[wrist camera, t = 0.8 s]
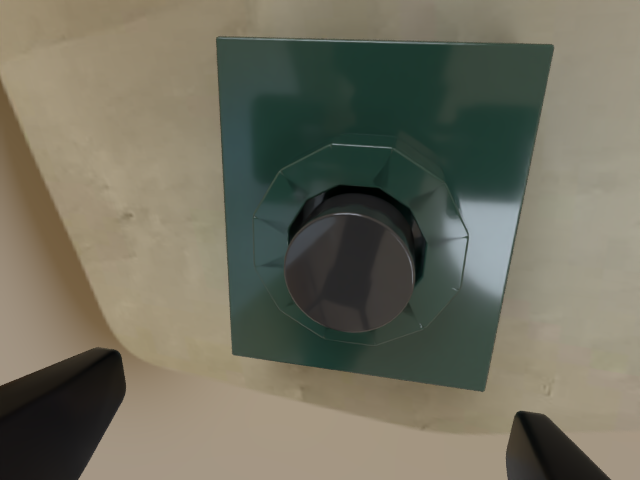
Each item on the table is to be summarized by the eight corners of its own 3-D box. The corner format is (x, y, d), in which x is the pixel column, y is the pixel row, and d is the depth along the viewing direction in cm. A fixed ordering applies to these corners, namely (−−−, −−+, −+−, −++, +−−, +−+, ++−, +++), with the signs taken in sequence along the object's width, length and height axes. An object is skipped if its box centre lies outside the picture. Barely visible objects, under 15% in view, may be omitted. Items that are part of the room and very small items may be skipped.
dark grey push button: (408, 305, 15) (408, 341, 13) (299, 292, 15) (282, 325, 13) (421, 196, 13) (422, 219, 11) (300, 187, 14) (282, 206, 12)
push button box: (472, 334, 21) (493, 432, 15) (261, 307, 22) (211, 387, 17) (524, 47, 16) (579, 41, 11) (255, 41, 18) (185, 32, 12)
